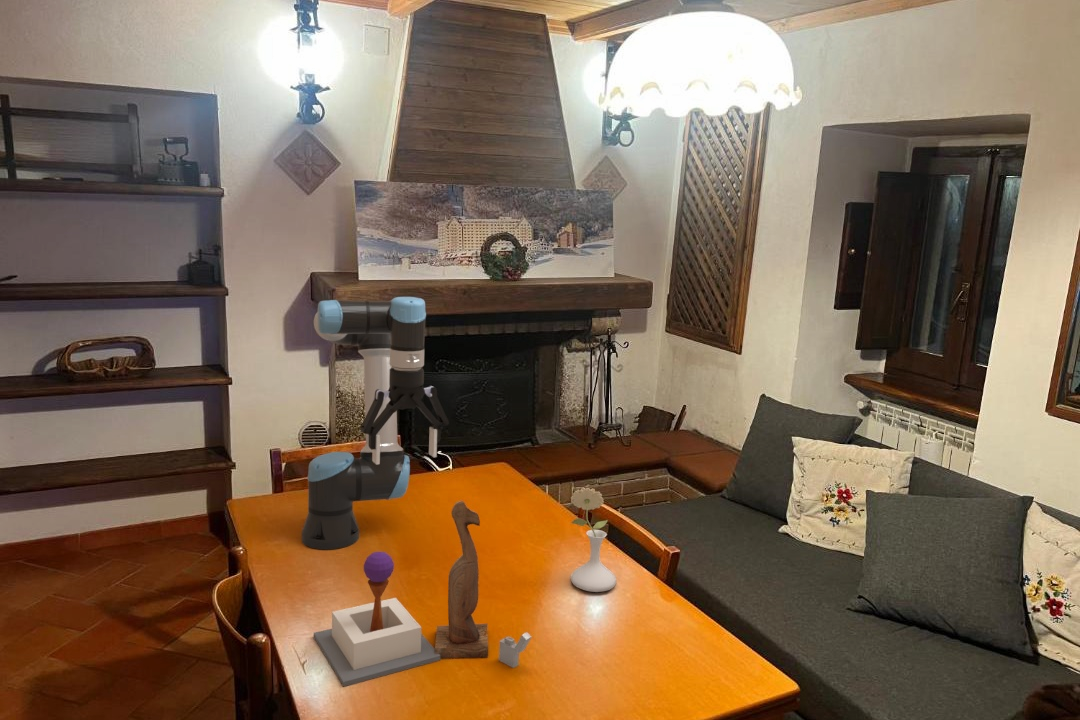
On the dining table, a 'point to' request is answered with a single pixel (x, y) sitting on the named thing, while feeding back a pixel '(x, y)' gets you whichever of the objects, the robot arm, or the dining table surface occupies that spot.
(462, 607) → the bird sculpture
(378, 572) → the kendama
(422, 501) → the dining table surface
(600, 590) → the flower in vase
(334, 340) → the robot arm
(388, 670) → the socket
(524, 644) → the lighter
